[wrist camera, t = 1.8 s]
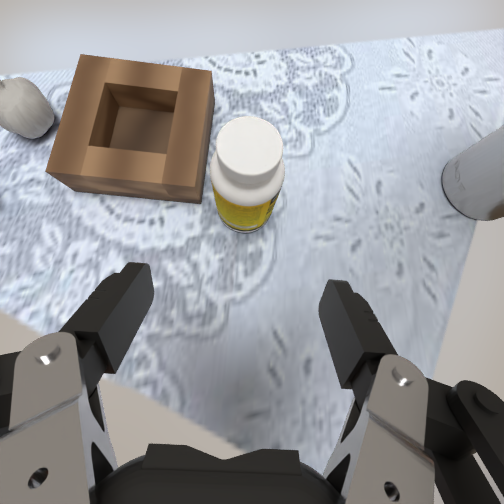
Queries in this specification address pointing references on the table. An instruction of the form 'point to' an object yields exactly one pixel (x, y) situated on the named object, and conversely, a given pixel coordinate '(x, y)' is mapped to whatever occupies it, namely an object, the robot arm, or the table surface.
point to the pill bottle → (247, 172)
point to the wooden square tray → (135, 130)
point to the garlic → (24, 108)
